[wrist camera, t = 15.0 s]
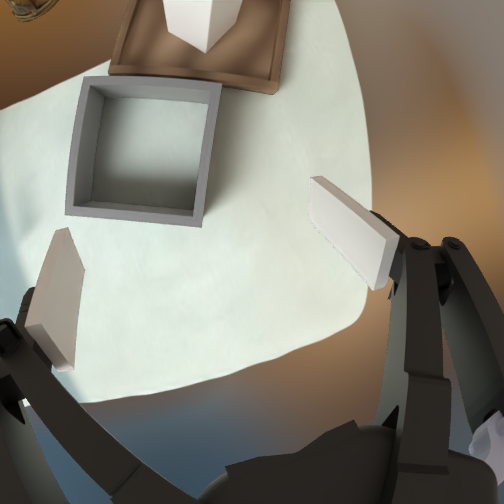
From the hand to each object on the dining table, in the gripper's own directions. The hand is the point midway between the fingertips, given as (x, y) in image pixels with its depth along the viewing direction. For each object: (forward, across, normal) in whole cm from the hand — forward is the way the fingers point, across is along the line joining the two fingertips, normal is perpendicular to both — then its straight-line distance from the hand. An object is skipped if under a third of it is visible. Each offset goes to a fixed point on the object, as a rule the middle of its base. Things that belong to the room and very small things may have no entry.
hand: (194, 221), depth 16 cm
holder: (+23, -2, -2) cm, 23 cm away
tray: (+27, +6, +12) cm, 31 cm away
